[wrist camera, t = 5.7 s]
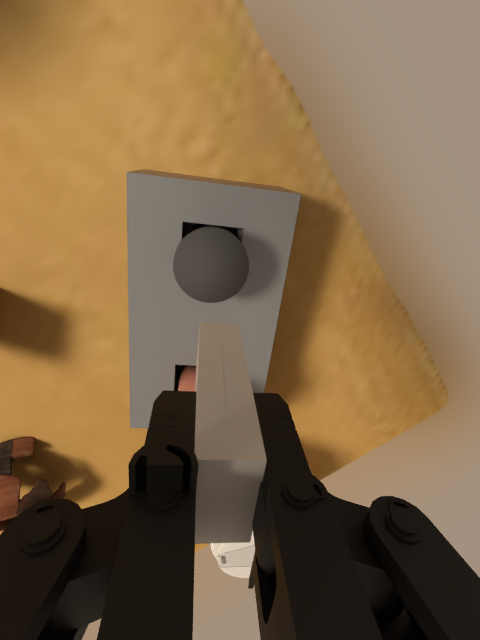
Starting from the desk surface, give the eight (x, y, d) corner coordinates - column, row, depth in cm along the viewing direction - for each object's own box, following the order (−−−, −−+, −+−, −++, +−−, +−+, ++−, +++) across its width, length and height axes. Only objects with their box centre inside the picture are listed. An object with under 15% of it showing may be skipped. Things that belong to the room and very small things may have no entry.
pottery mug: (60, 426, 40) (58, 502, 35) (73, 452, 47) (73, 517, 42) (-66, 449, 36) (-86, 538, 31) (-31, 473, 43) (-43, 548, 38)
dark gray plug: (182, 207, 29) (174, 224, 21) (241, 214, 29) (254, 233, 22) (179, 264, 31) (171, 299, 23) (234, 269, 31) (244, 305, 24)
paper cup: (212, 465, 44) (215, 586, 32) (205, 419, 41) (206, 535, 28) (271, 457, 45) (297, 574, 32) (269, 412, 41) (298, 522, 29)
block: (143, 169, 29) (126, 172, 22) (281, 187, 30) (301, 194, 24) (142, 383, 38) (130, 427, 31) (248, 387, 39) (256, 431, 33)
